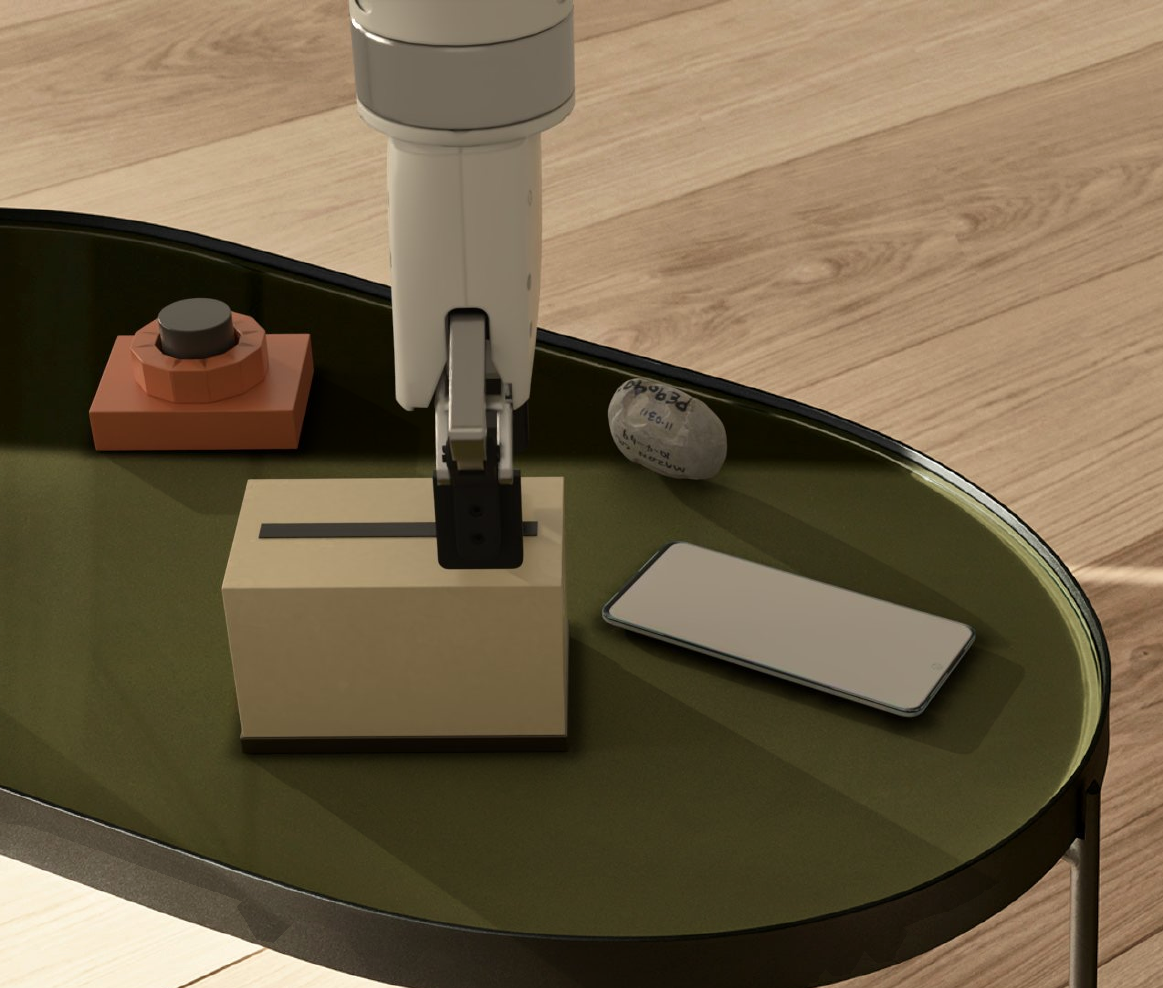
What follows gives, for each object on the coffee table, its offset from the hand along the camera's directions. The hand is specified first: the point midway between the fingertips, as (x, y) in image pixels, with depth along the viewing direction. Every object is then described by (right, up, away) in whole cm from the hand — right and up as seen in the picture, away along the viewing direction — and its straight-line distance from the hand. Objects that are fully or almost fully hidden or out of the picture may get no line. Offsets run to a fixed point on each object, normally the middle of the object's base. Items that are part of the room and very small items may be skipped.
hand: (485, 502), depth 83 cm
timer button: (-15, +11, +22) cm, 29 cm away
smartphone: (+13, -5, +9) cm, 16 cm away
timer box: (-15, +8, +25) cm, 30 cm away
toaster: (-3, -7, +6) cm, 10 cm away
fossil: (+8, +3, +19) cm, 21 cm away
